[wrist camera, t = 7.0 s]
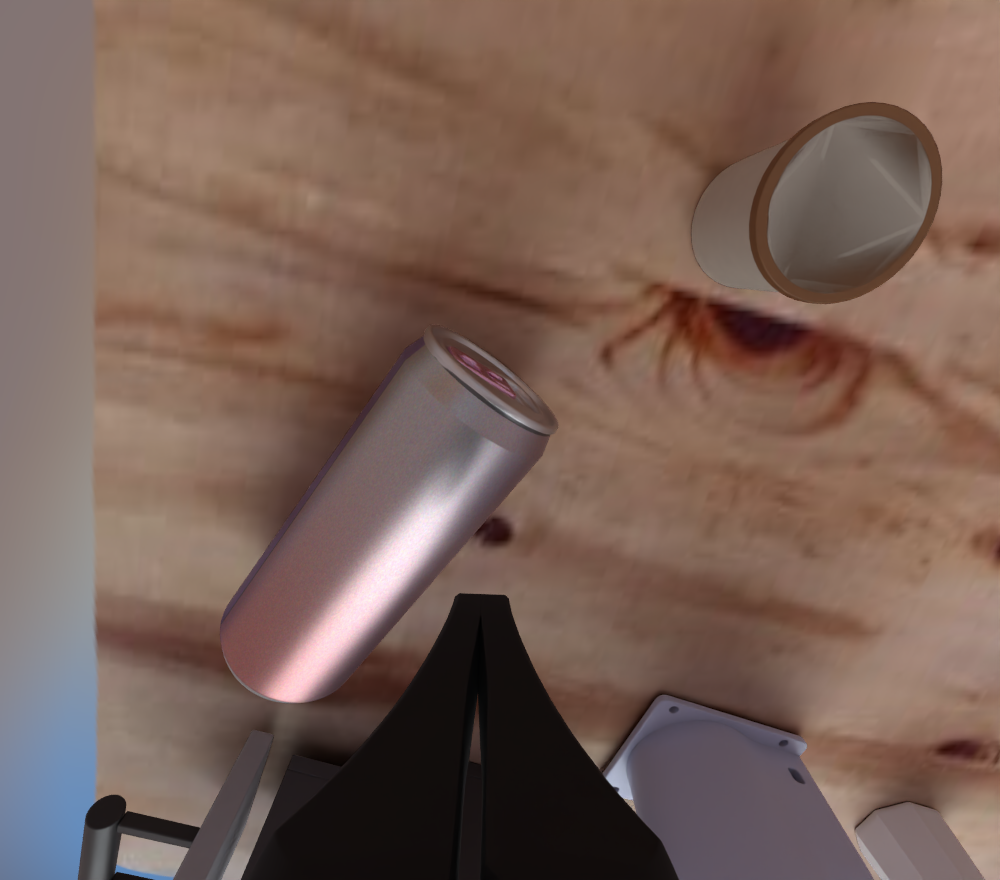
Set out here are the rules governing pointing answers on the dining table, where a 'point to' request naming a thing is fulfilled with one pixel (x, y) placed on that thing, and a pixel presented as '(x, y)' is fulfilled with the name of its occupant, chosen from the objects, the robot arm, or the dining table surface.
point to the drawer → (219, 828)
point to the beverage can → (384, 517)
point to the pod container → (823, 207)
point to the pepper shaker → (913, 845)
